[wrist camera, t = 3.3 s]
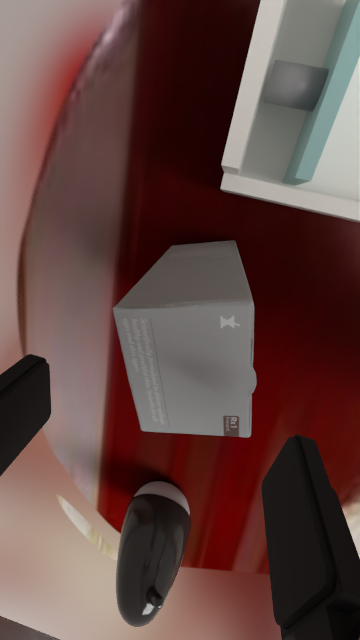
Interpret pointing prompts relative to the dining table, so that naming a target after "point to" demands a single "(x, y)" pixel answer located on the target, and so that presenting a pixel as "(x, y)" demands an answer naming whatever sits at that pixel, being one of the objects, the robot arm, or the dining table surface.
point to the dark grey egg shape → (150, 550)
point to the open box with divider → (292, 116)
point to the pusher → (317, 92)
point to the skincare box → (191, 342)
